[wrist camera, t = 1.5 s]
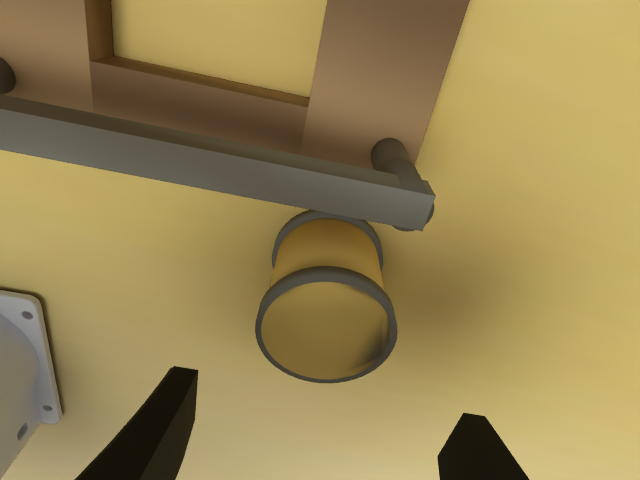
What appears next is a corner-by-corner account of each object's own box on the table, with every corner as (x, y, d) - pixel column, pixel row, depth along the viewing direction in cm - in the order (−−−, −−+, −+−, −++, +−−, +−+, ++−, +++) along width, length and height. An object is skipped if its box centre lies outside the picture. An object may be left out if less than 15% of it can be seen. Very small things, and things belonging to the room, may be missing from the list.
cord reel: (365, 306, 19) (375, 392, 15) (267, 288, 19) (248, 371, 15) (394, 219, 17) (416, 291, 13) (282, 197, 16) (264, 263, 12)
